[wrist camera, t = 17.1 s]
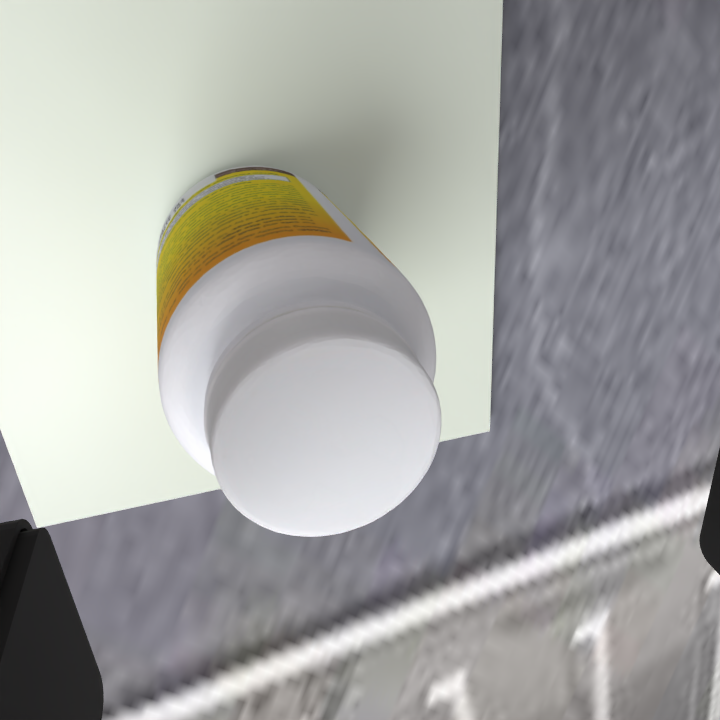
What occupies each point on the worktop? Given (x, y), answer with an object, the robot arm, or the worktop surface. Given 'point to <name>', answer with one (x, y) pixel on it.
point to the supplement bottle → (292, 354)
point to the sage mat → (204, 158)
